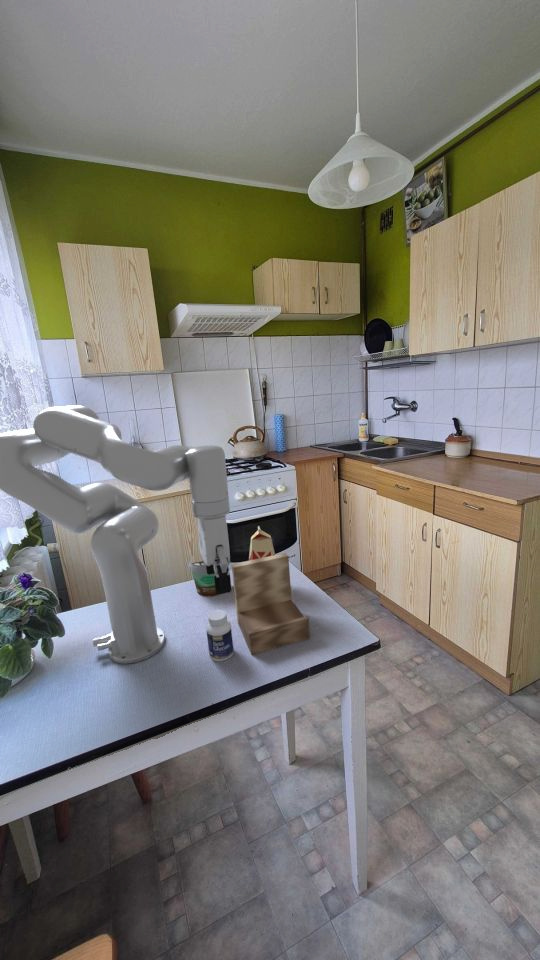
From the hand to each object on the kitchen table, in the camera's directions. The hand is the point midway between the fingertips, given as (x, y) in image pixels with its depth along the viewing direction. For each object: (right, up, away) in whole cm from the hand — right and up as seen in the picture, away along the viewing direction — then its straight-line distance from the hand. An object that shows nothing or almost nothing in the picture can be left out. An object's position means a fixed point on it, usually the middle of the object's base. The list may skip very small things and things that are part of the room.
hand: (218, 582), depth 83 cm
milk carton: (+10, -10, +28) cm, 31 cm away
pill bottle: (0, -17, +3) cm, 17 cm away
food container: (-5, -11, +30) cm, 32 cm away
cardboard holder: (+12, -14, +10) cm, 21 cm away
